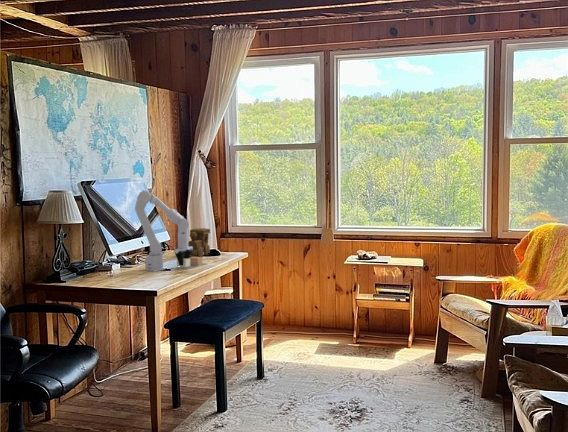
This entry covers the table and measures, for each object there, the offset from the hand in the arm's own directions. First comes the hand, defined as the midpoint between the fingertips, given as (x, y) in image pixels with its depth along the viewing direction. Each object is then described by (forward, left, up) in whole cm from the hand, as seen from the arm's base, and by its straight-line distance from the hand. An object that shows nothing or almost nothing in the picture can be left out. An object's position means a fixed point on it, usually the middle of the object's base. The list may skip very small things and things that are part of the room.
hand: (183, 264), depth 320 cm
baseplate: (+6, 0, -2) cm, 6 cm away
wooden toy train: (+38, +19, -3) cm, 43 cm away
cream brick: (0, 0, -1) cm, 1 cm away
